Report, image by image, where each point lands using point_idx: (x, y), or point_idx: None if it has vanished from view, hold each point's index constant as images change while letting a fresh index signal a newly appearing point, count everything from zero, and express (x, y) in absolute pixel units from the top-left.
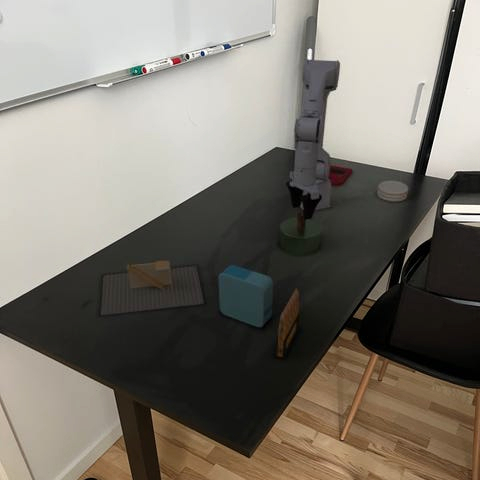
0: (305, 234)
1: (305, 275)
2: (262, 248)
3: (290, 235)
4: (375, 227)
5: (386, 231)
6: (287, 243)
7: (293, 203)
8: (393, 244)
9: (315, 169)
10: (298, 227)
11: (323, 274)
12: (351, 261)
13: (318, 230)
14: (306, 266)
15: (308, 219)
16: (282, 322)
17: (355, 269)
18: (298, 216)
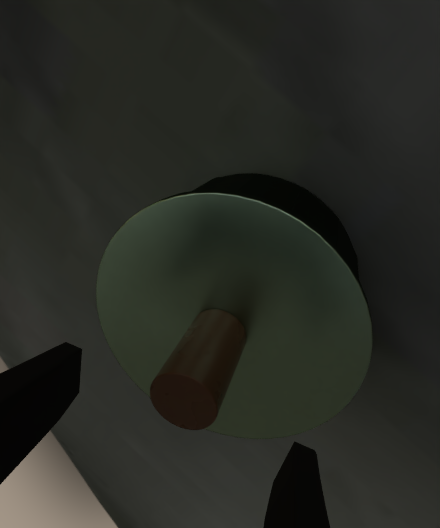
0: (130, 285)
1: (28, 108)
2: (367, 73)
3: (165, 204)
4: (190, 524)
5: (154, 518)
6: (215, 187)
7: (289, 483)
8: (87, 470)
9: None
10: (208, 312)
11: (13, 182)
12: (54, 324)
13: (134, 365)
14: (85, 165)
15: (267, 426)
16: None
17: (10, 295)
18: (183, 366)
